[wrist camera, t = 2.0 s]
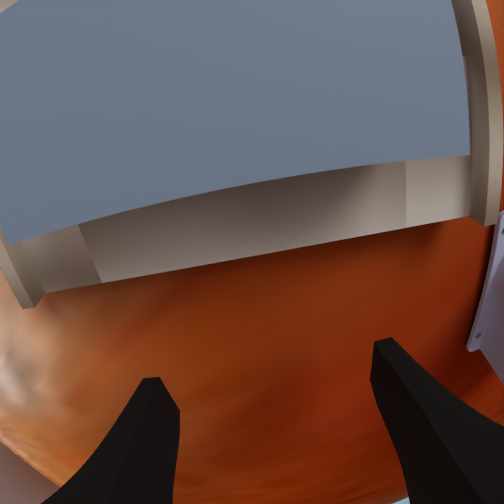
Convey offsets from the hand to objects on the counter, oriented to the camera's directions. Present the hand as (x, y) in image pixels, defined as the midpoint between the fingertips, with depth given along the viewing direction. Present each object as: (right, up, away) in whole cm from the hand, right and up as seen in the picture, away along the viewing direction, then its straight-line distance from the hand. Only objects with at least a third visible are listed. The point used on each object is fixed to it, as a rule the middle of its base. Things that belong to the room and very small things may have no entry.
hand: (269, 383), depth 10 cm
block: (-2, +9, -2) cm, 10 cm away
